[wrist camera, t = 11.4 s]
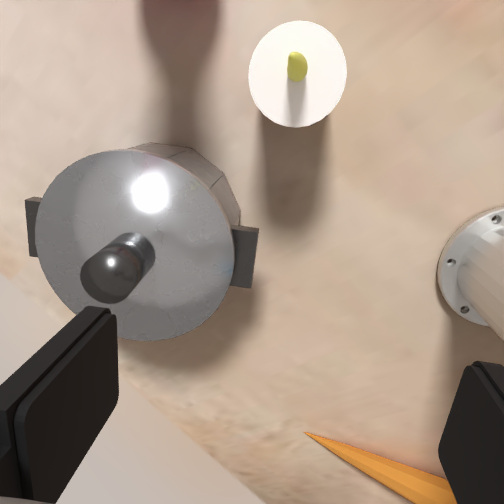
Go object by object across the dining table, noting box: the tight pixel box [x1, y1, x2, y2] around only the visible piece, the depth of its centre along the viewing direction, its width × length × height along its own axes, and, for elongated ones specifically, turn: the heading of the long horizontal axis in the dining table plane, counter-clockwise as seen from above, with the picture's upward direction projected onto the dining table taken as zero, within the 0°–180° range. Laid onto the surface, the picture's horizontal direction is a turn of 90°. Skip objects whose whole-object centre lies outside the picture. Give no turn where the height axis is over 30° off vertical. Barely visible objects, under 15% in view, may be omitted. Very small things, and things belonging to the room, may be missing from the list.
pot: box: [25, 143, 259, 288], centre depth 36 cm, size 19×15×9 cm
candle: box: [248, 21, 347, 128], centre depth 28 cm, size 6×6×15 cm
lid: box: [35, 149, 235, 341], centre depth 30 cm, size 16×16×8 cm
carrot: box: [304, 432, 457, 504], centre depth 48 cm, size 20×4×4 cm, turn 67°
